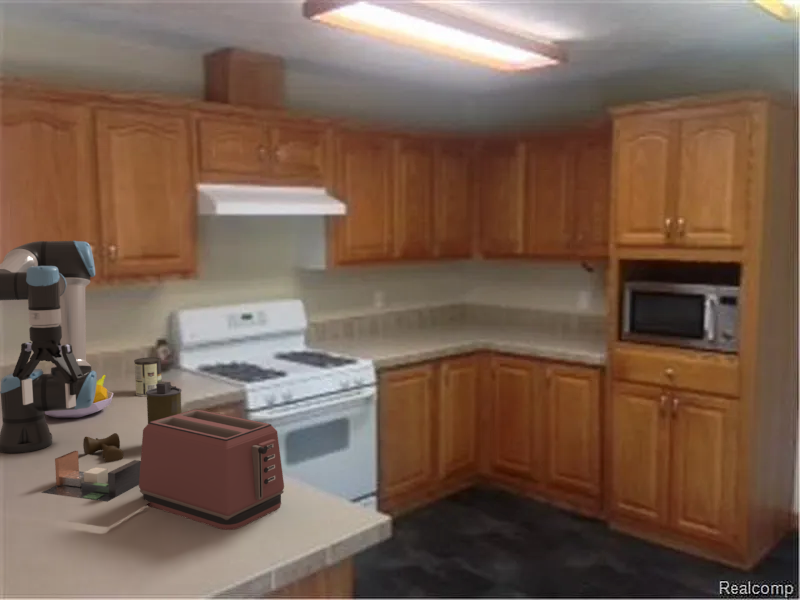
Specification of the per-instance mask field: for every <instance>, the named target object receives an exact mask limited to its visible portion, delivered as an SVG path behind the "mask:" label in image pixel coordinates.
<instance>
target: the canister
mask: <svg viewBox="0 0 800 600" xmlns="http://www.w3.org/2000/svg"><path fill="white" fill-rule="evenodd" d="M156 386H157V388H155V389H151V390H148V391H147V392H146V394H147V396H146V403H147V404H146V408H147V409H146V410H147V425H148V424H149V422H151V421H155V420H158V419H162V418H166V417H169V416H173V415H176V414H180V413H182V391H183V390H182V388H179V387H177V386H176V385H175V386H174V385H172V382H171V381H161V382H159V383H158V384H156Z"/></svg>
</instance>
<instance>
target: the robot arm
mask: <svg viewBox="0 0 800 600" xmlns="http://www.w3.org/2000/svg"><path fill="white" fill-rule="evenodd" d="M95 276H96V265H95V260H94V255H93V251H92V247H91V244H89V242H87V241H83V240H82V241H80V240H56V241H54V240H50V241H47V240H45V241H44V240H39V241H32V242H27V243H25V244H21V245H19V246H17V247H14V248H13V249H11V250H10V251H8V252H7V253H6V254H5V256H4V258H3V260H2V262H1V263H0V301H27V305H28V322H29V323H28V324H29V325H30V327H29V329H28V330H29V340H30V341H27V342H23V343H21V345H20V353H19V356H18V358H17V361H16V365H15V367H14V369H13V372H12V373H10V374H6V375H5V376H4V377H2V378H1V380H0V402H1V404H0V405H1V418H2V425H1V429H0V452H2V453H6V454H8V453H9V454H18V453H19V454H21V453H28V452H29V453H30V452H34V451H38V450H41V449H44V448H47V447H49V446H51V445H53V442H54V441H53V434H52V432H50V428H49V426H48V422H47V420H46V414H45V411H59V410H73V409H75V410H77V409H83V408H88V407H90V406H91V405H92V403H93V401H94V397H95V391H96V382H97V381H98V379H97V378H98V376H97V375H98V374H97V371H95V370H92V365H91V364H90V363H89V362H88V361H87V331H86V330H87V324H86V323H87V322H86V310H87V309H86V288H87V286H88V285H90V284H91V278H94V277H95ZM32 352H33V353H32ZM44 361H45V362H51V363H52V364H53V365H52V366H51V367H50V373H44V370H42V369H41V368H37V366H38V365H39V363H40V362H44Z"/></svg>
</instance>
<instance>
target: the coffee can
mask: <svg viewBox="0 0 800 600" xmlns="http://www.w3.org/2000/svg"><path fill="white" fill-rule="evenodd" d="M134 375H135V379H134V380H135V381H134V382H135V395H136V396H138V397H147V394H146V392H147V391H148V390H151V389H155V388H157V386H156V384H158V383H159V382H161V381H162V358H160V357H154V356H153V357H150V356H148V357H141V358H140V357H139V358H136V359H134ZM162 382H163V381H162Z"/></svg>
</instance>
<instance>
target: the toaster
mask: <svg viewBox="0 0 800 600" xmlns="http://www.w3.org/2000/svg"><path fill="white" fill-rule="evenodd" d="M141 438H142V441H141V454H140V461H141V465H140V478H139V485H138V487H139V488H138V489H139V492H140V493H141V494H142V495H143V497H142V498H143V500H145V501H146V502H147V503H146V504H145V505H146V506H148V507H152V508H154V509H158V510H161V511H164V512H168V513H170V514H173V515H176V516H179V515H180V517H182V516H183V517H182V518H185V517H186V519H188V518H189V519H188V520H191V519H192V520H191V521H195V522H198V523H202V524H204V525H207V526H209V527H210V526H211V527H214V528H217V529H220V530H226V531H227V530H229V531H230V530H236V529H239V528H242V527H245V526H246V525H248V524H250V523H252V522H254V521H257V520H258V519H260V518H262V517H264V516H266V515H268V514H270V513H272V512H274V511H276V510H278V509H280V508H281V506H282V495H283V494H284V492H285V491H284V489H285V483H284V474H283V466H282V458H281V452H280V451H281V450H280V443H279V434H278V429H276V428H275V427H274V426H273V425H272V424H271V423H267V422H263V421H257V420H251V419H247V418H242V417H237V416H232V415H228V414H222V413H216V412H212V411H207V410H202V409H198V408H195V409H190V410H188V411H184V412H181V413H180V414H176V415H173V416H169V417H166V418H162V419H158V420H155V421H151V422H149V424H148V423H147V424H146V425H145V427H144V428H143V430H142V437H141Z"/></svg>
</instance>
